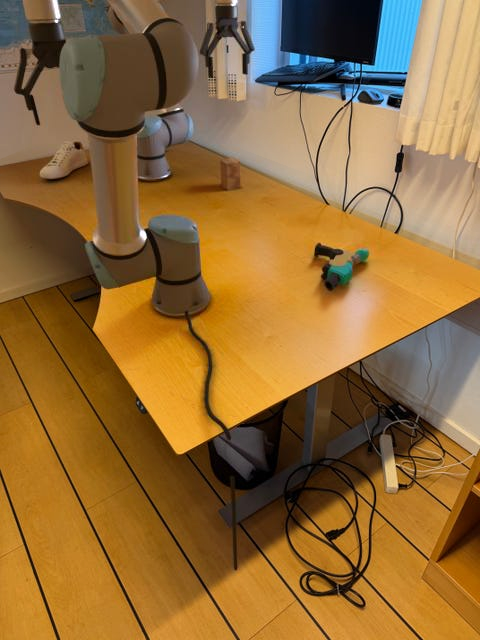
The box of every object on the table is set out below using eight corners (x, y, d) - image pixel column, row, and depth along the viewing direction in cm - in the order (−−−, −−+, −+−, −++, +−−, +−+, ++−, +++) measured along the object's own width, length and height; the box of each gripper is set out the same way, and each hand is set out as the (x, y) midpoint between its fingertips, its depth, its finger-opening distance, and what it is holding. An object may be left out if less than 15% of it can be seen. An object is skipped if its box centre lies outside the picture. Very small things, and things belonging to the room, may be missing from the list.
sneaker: (33, 182, 200) (26, 152, 193) (72, 161, 222) (66, 134, 215) (55, 184, 198) (48, 154, 191) (91, 163, 220) (86, 135, 213)
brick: (233, 183, 197) (233, 157, 191) (240, 187, 193) (240, 161, 186) (221, 185, 195) (220, 159, 189) (227, 190, 190) (226, 163, 184)
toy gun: (291, 271, 128) (345, 285, 123) (324, 234, 147) (372, 245, 141) (290, 285, 131) (343, 299, 125) (322, 247, 150) (369, 258, 144)
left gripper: (254, 3, 165) (253, 71, 177) (187, 5, 155) (191, 77, 168) (264, 3, 159) (263, 74, 172) (196, 6, 150) (200, 80, 163)
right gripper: (96, 17, 114) (111, 111, 127) (-17, 23, 105) (11, 123, 118) (103, 19, 109) (118, 117, 122) (-14, 25, 100) (15, 130, 112)
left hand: (228, 76), depth 170 cm, fingers open, 13 cm apart
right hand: (66, 120), depth 120 cm, fingers open, 13 cm apart
